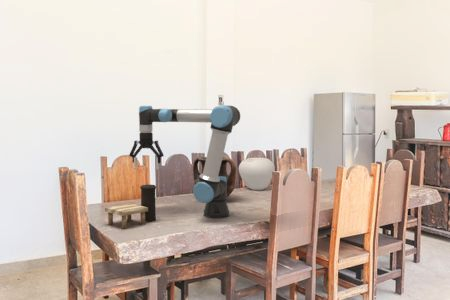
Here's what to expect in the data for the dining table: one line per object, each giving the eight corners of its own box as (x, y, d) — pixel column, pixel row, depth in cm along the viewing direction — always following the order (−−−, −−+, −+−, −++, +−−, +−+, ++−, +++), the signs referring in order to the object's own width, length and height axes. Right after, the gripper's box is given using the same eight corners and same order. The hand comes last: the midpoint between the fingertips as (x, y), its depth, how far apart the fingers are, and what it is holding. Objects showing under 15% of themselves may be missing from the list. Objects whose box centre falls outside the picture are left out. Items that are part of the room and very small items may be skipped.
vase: (257, 185, 367) (257, 156, 365) (281, 189, 347) (281, 158, 345) (232, 188, 349) (232, 158, 347) (255, 193, 329) (256, 160, 327)
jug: (241, 197, 312) (241, 155, 309) (232, 205, 284) (232, 159, 282) (198, 195, 319) (198, 154, 317) (185, 202, 292) (185, 158, 290)
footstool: (148, 223, 235) (148, 207, 234) (123, 229, 223) (123, 212, 222) (129, 219, 245) (129, 203, 244) (105, 224, 233) (105, 207, 232)
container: (157, 218, 247) (157, 183, 245) (155, 222, 238) (155, 186, 237) (141, 218, 247) (141, 183, 245) (139, 222, 238) (138, 186, 236)
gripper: (168, 132, 256) (169, 168, 258) (128, 132, 261) (129, 167, 262) (164, 132, 249) (165, 169, 250) (123, 132, 253) (123, 169, 255)
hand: (146, 168), depth 256 cm, fingers open, 13 cm apart
